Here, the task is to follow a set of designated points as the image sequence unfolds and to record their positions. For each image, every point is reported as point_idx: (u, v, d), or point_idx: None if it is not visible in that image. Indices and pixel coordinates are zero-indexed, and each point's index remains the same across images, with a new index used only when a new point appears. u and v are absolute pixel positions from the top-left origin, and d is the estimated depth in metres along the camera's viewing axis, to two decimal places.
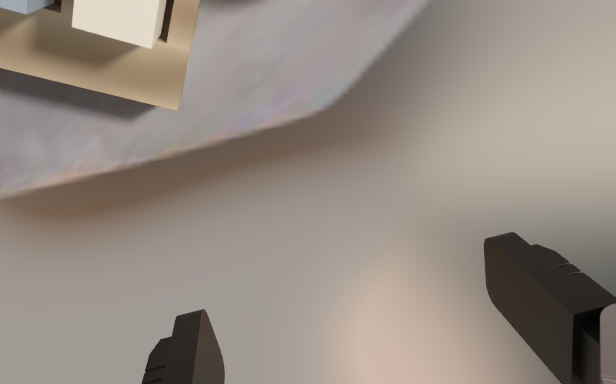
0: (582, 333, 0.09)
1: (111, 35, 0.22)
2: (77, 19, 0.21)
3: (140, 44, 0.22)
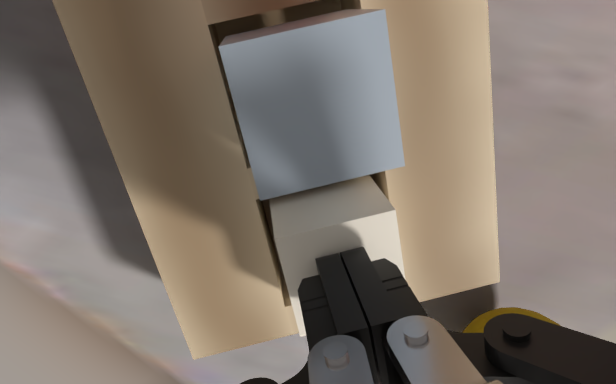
0: (384, 344, 0.10)
1: (291, 288, 0.14)
2: (290, 242, 0.13)
3: (299, 323, 0.14)
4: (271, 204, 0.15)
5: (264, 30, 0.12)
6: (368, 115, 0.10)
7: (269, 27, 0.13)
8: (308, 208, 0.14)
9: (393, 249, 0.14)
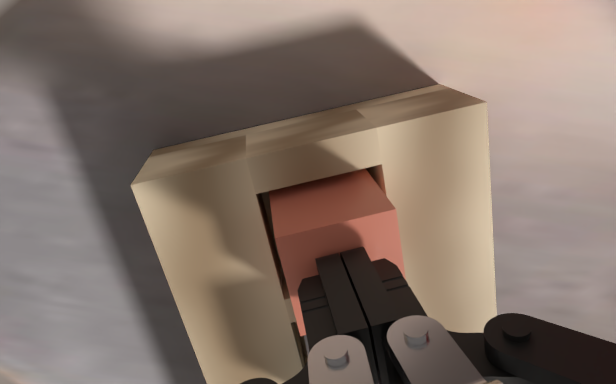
0: (384, 343, 0.10)
1: None
2: None
3: None
4: None
5: None
6: None
7: None
8: None
9: None
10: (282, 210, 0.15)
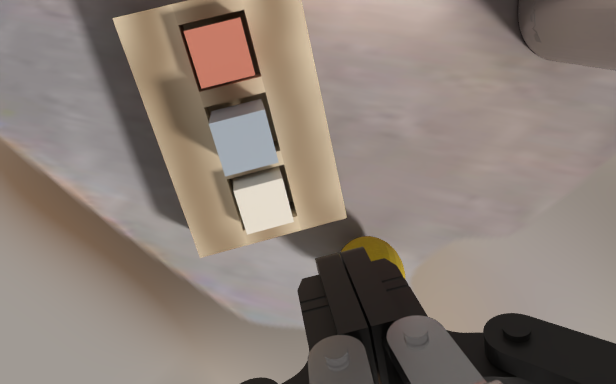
0: (384, 343, 0.10)
1: (241, 212, 0.33)
2: (239, 192, 0.32)
3: (246, 228, 0.34)
4: (234, 179, 0.35)
5: (226, 112, 0.30)
6: (262, 144, 0.29)
7: (228, 108, 0.31)
8: (249, 179, 0.34)
9: (283, 194, 0.33)
10: None
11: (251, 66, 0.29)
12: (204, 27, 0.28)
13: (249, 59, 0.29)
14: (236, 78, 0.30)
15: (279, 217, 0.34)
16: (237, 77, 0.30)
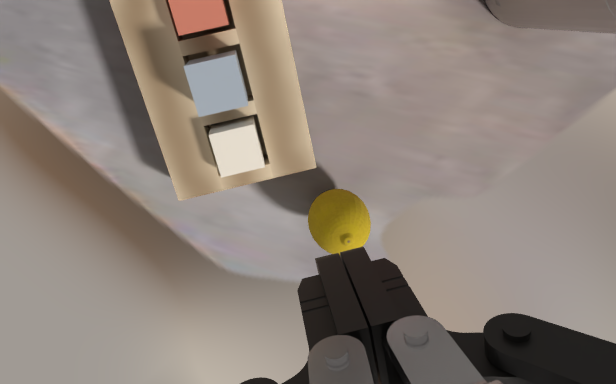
0: (384, 343, 0.10)
1: (216, 155, 0.36)
2: (214, 136, 0.35)
3: (220, 171, 0.36)
4: (211, 127, 0.37)
5: (201, 59, 0.33)
6: (233, 88, 0.32)
7: (205, 57, 0.34)
8: (224, 126, 0.36)
9: (255, 140, 0.36)
10: None
11: (224, 16, 0.32)
12: None
13: (223, 9, 0.32)
14: (211, 27, 0.32)
15: (251, 162, 0.36)
16: (211, 26, 0.32)
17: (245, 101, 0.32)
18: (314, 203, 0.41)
